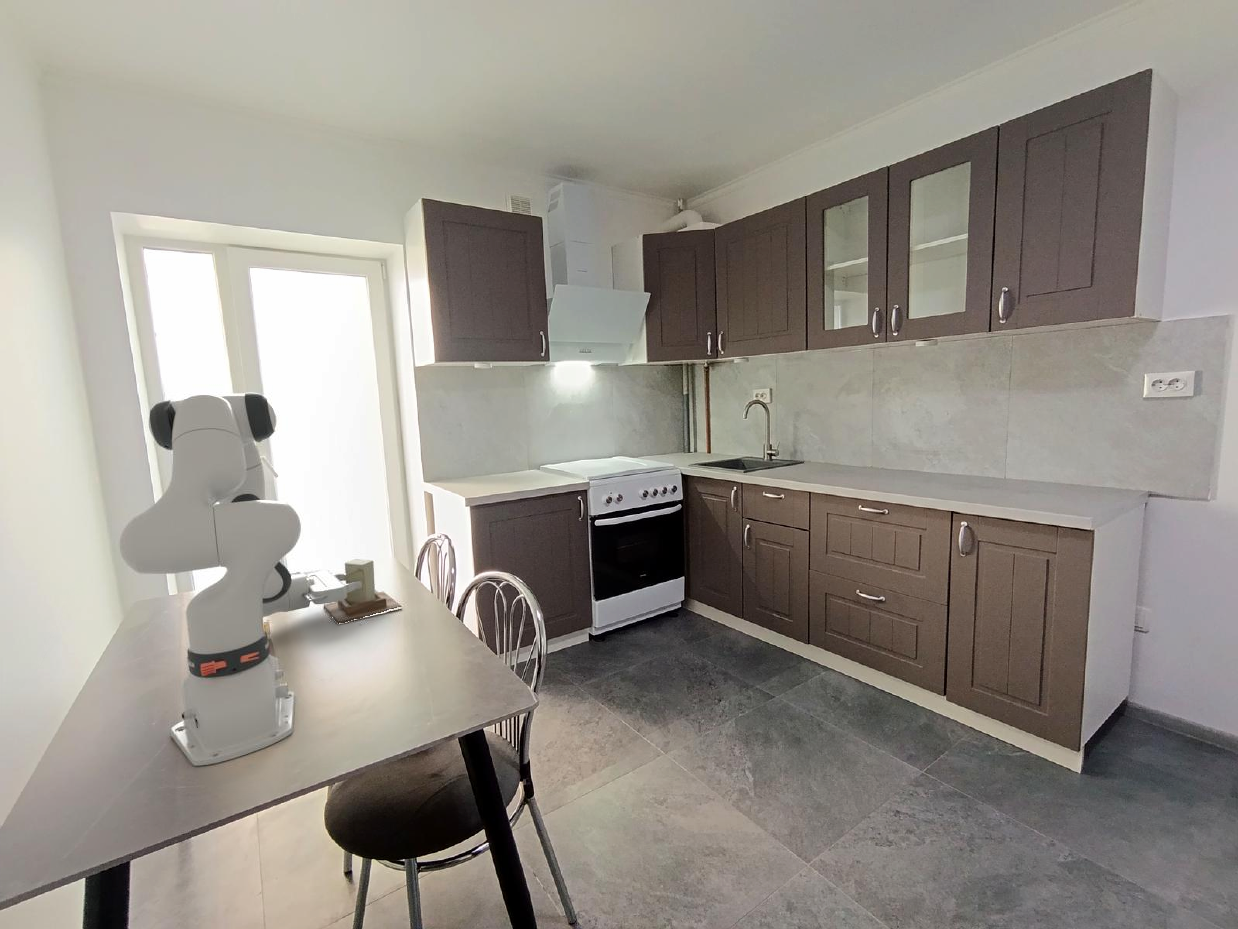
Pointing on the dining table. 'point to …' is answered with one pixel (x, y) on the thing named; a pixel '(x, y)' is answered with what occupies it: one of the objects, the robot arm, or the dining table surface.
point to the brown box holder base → (360, 608)
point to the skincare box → (363, 573)
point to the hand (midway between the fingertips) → (356, 579)
